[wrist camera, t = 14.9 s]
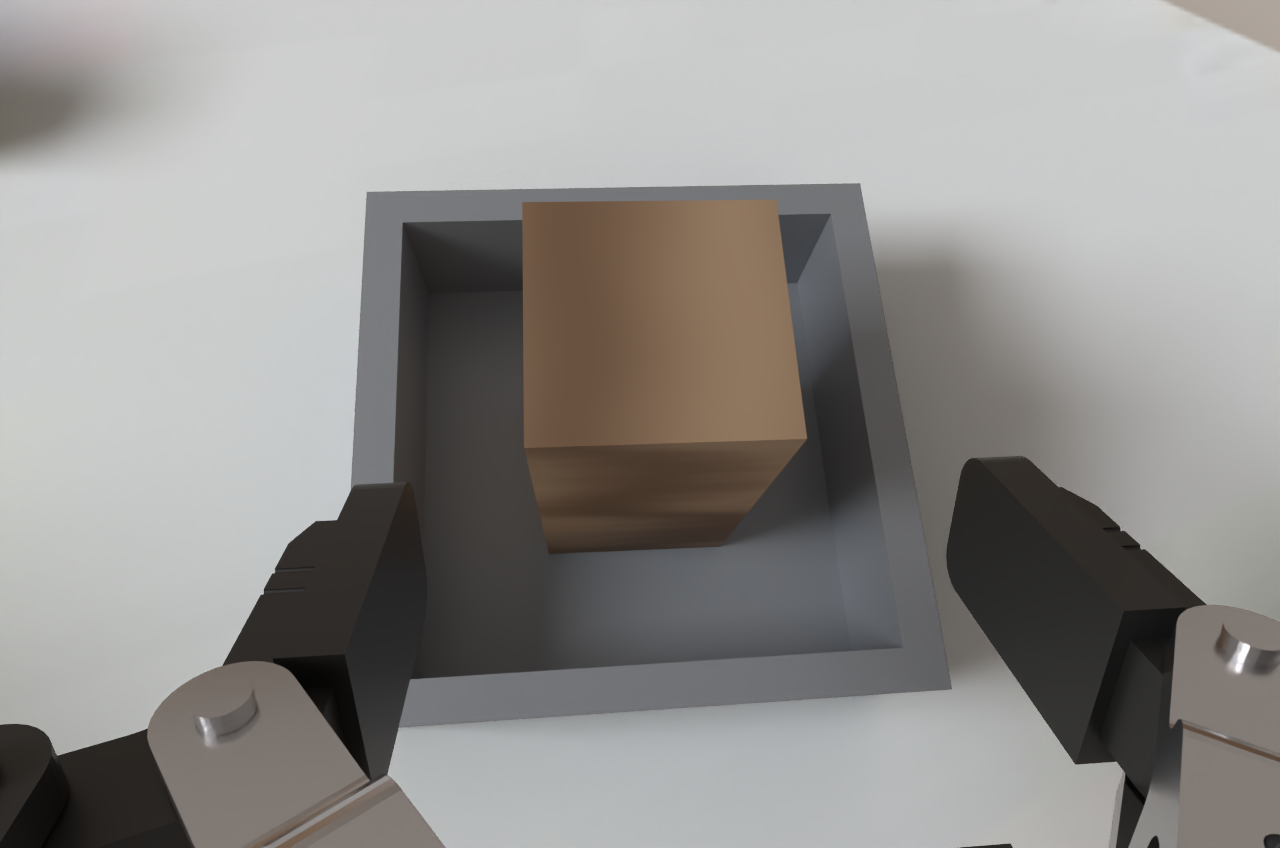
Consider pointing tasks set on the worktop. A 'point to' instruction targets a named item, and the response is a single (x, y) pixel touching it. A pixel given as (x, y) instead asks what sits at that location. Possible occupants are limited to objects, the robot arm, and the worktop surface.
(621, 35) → the worktop surface
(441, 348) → the box
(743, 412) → the brown wooden block
